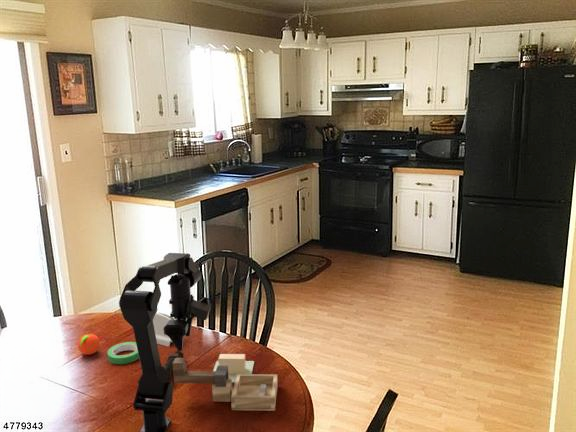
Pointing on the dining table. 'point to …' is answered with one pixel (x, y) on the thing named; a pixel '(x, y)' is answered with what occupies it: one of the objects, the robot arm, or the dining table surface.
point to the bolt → (171, 359)
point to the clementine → (88, 344)
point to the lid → (235, 365)
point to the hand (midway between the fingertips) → (184, 343)
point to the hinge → (161, 328)
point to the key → (190, 373)
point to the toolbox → (245, 390)
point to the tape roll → (124, 358)
